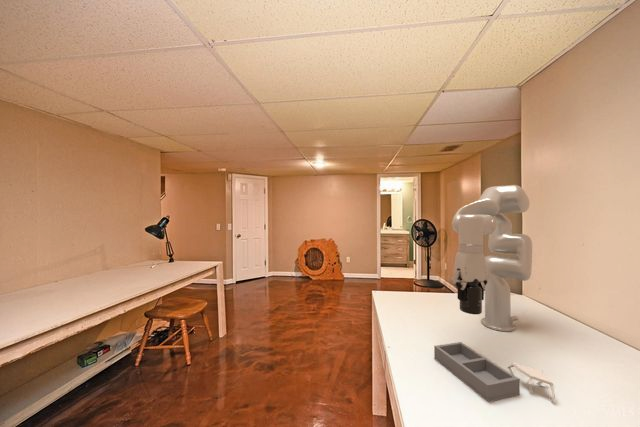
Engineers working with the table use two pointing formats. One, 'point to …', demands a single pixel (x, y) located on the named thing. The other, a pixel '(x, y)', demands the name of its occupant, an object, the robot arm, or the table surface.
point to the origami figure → (533, 376)
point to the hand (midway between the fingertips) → (470, 299)
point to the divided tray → (477, 371)
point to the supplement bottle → (472, 298)
